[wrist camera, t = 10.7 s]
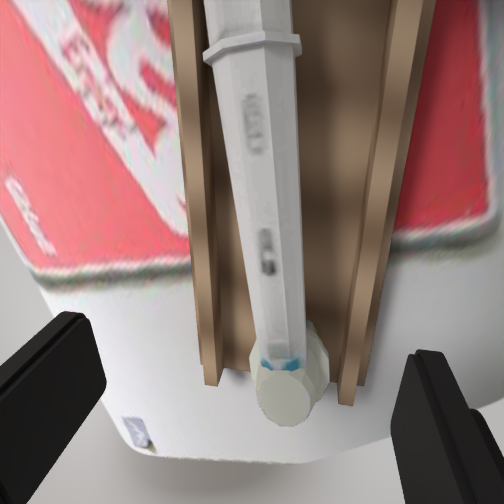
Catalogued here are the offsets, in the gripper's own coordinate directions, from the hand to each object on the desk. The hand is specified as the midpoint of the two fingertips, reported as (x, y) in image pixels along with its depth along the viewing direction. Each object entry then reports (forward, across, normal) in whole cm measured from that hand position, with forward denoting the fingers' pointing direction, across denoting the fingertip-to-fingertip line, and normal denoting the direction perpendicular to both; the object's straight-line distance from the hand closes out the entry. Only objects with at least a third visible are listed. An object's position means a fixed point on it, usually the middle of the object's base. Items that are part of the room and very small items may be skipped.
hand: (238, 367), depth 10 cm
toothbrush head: (+13, 0, 0) cm, 13 cm away
